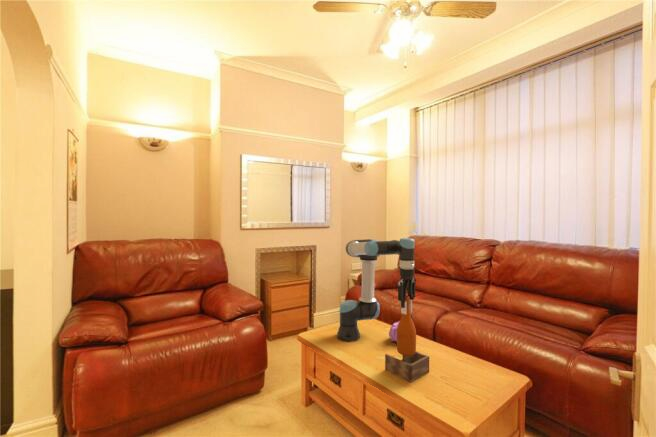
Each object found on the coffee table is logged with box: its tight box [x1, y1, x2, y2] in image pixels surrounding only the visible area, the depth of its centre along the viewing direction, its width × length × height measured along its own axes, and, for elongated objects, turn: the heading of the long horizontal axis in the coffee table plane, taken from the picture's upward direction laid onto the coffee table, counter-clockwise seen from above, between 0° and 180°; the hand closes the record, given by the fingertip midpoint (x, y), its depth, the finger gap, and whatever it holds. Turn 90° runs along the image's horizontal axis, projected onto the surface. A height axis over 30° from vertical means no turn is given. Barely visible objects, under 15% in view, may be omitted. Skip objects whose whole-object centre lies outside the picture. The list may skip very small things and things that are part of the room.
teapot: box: [388, 321, 399, 343], centre depth 202 cm, size 20×14×12 cm
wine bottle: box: [396, 294, 417, 356], centre depth 163 cm, size 10×10×30 cm
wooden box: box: [384, 350, 430, 383], centre depth 163 cm, size 16×16×8 cm
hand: (406, 312), depth 163 cm, fingers closed on wine bottle, 4 cm apart
